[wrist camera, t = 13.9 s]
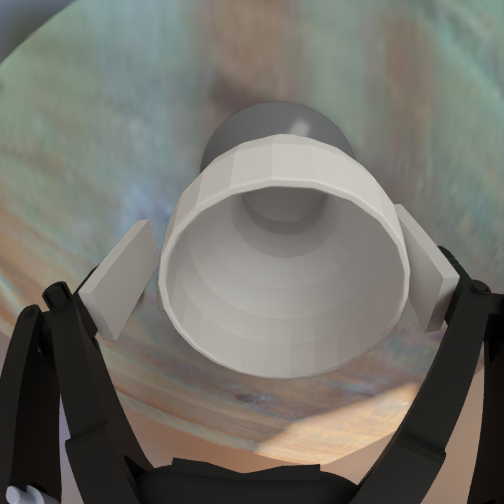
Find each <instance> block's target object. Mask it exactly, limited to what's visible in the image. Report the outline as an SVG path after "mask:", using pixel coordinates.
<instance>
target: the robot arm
mask: <svg viewBox="0 0 504 504" xmlns="http://www.w3.org/2000/svg"><path fill="white" fill-rule="evenodd" d="M393 205H394V208H395V211H396V214H397V217H398V220H399V223H400V227H401V230H402V233H403V238H404V242H405V247H406V252H407V256H408V262H409V267H410V276H409V291H408V297H409V299H410V301H411V303H412V306H413V308H414V310H415V312H416V314H417V316H418V318H419V320H420V323H421V325H422V327H423V329H424V332H425V333H426V332H432V331H438V330H440V329H441V327H442V324H443V322H444V319H445V321H446V323H447V325H448V328H447V330H446V332H445V334H444V337H443V339H442V341H441V343H440V347H439V349H438V352H437V354H436V356H435V359H434V361H433V363H432V365H431V367H430V369H429V372H428V374H427V376H426V378H425V380H424V382H423V384H422V386H421V388H420V390H419V392H418V394H417V396H416V397H415V399H414V401H413V403H412V405H411V407H410V408H409V410H408V412H407V414H406V415H405V417H404V419H403V421H402V422H401V424H400V426H399V427H398V429H397V430H396V432H395V434H394V435H393V437H392V439H391V440H390V442H389V443H388V445H387V446H386V448H385V449H384V451H383V452H382V454H381V455H380V457H379V458H378V459H377V461H376V462H375V463H374V465H373V466H372V467H371V469H370V470H369V471H368V473H367V474H366V475H365V476H364V478H363V479H362V480H361V481H360V483H359V484H358V485H356V484H354V483H353V482H351V481H350V480H348V479H346V478H344V477H341V476H339V475H336V474H333V473H329V472H323V471H320V464H314V465H296V466H280V467H275V468H271V469H266V470H261V471H256V472H251V473H238V472H235V471H232V470H229V469H226V468H223V467H219V466H216V465H213V464H210V463H208V462H201V461H193V460H186V459H180V458H173V461H172V465H167V466H161V467H158V468H154V467H153V466H152V464H151V463H150V462H149V461H148V459H147V458H146V456H145V455H144V453H143V451H142V449H141V447H140V445H139V443H138V441H137V439H136V437H135V435H134V433H133V431H132V428H131V426H130V424H129V422H128V420H127V418H126V415H125V413H124V411H123V408H122V406H121V404H120V401H119V399H118V396H117V394H116V391H115V389H114V386H113V384H112V381H111V379H110V376H109V373H108V370H107V368H106V365H105V362H104V359H103V356H102V353H101V350H100V347H99V344H98V341H97V340H96V338H95V335H96V333H97V331H99V333H100V335H101V337H102V338H103V340H111V341H117V339H118V337H119V335H120V333H121V332H122V330H123V328H124V326H125V324H126V322H127V320H128V318H129V316H130V315H131V313H132V311H133V309H134V307H135V305H136V303H137V302H138V300H139V298H140V296H141V294H142V293H143V291H144V289H145V287H146V285H147V284H148V282H149V280H150V278H151V277H152V275H153V273H154V271H155V270H156V268H157V266H158V265H159V263H160V256H159V252H158V249H157V246H156V242H155V239H154V235H153V232H152V228H151V224H150V221H149V219H147V220H138V221H137V222H136V223H135V224H134V225H133V226H132V227H131V228H130V230H129V231H128V232H127V233H126V234H125V235H124V236H123V238H122V239H121V240H120V241H119V242H118V243H117V245H116V246H115V247H114V248H113V249H112V250H111V252H110V253H109V254H108V255H107V256H106V258H105V259H104V260H103V261H102V262H101V264H99V265H98V266H97V267H95V268H94V269H93V270H92V271H91V272H90V273H89V275H88V276H87V277H86V278H85V280H84V281H83V282H82V283H81V285H80V286H79V287H78V288H77V290H76V291H75V292H74V294H73V295H72V294H71V292H70V290H69V288H68V286H67V284H66V282H63V281H60V282H56V283H54V284H52V285H50V286H49V287H48V288H46V289H45V291H44V292H43V295H42V297H43V299H44V301H45V303H46V304H47V306H48V308H49V310H50V311H46V312H42V311H41V310H40V308H39V306H38V305H36V304H34V305H30V306H27V307H26V308H24V309H23V311H22V312H21V313H20V315H19V317H18V319H17V322H16V325H15V328H14V331H13V334H12V337H11V341H10V344H9V347H8V351H7V354H6V358H5V361H4V365H3V369H2V373H1V377H0V504H61V495H62V494H61V493H62V485H61V470H60V451H59V407H60V393H61V398H62V403H63V407H64V412H65V416H66V420H67V424H68V428H69V432H70V436H71V438H70V439H68V440H66V441H65V448H66V453H67V456H68V460H69V463H70V466H71V469H72V472H73V475H74V478H75V481H76V484H77V487H78V489H79V492H80V494H81V497H82V500H83V502H84V504H420V503H421V502H422V500H423V499H424V497H425V495H426V493H427V492H428V490H429V489H430V487H431V485H432V483H433V482H434V480H435V478H436V476H437V474H438V472H439V471H440V469H441V467H442V465H443V463H444V460H445V457H446V452H445V447H446V445H447V443H448V441H449V438H450V436H451V434H452V432H453V430H454V427H455V425H456V422H457V420H458V418H459V415H460V413H461V410H462V407H463V405H464V402H465V399H466V396H467V394H468V390H469V388H470V385H471V382H472V378H473V375H474V372H475V369H476V365H477V362H478V358H479V354H480V350H481V346H482V342H483V341H484V399H483V401H484V402H483V414H482V424H481V432H480V440H479V446H478V453H477V458H476V464H475V469H474V473H473V478H472V482H471V486H470V491H469V496H468V500H467V504H504V294H496V293H491V290H490V288H489V287H488V286H487V285H486V284H485V283H483V282H481V281H478V280H472V279H471V278H470V277H469V275H468V274H467V273H466V271H465V270H464V269H463V267H462V266H461V265H460V264H459V262H458V261H457V260H456V259H455V257H454V256H453V255H452V254H451V252H450V251H448V250H447V249H445V248H444V247H442V246H436V245H435V243H434V242H433V241H432V240H431V239H430V237H429V236H428V235H427V234H426V233H425V231H424V230H423V229H422V228H421V227H420V226H419V224H418V223H417V222H416V221H415V220H414V219H413V217H412V216H411V215H410V214H409V213H408V212H407V211H406V210H405V209H404V207H403V206H402V205H401V204H393ZM38 350H39V351H38Z"/></svg>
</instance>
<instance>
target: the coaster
mask: <svg viewBox="0 0 504 504" xmlns="http://www.w3.org/2000/svg"><path fill="white" fill-rule="evenodd" d="M277 134H293V135H297V136H300V137H308V138H311V139H314V140H317V141H320V142H323V143H325V144H328V145H331V146H334V147H337V148H338V149H340V150H341V151H343V152H344V153H345V154H347V155H348V156H350V157H351V158H352V159H354V160H355V156H354V153H353V151H352V148H351V146H350V144H349V142H348V140H347V139H346V137H345V136H344V135H343V133H342V132H341V131H340V130H339V128H338V127H337V126H336V125H335V124H334V123H333V122H331V121H330V120H329V119H328V118H326V117H325V116H324V115H322V114H320V113H319V112H317V111H315V110H313V109H311V108H308V107H306V106H303V105H300V104H296V103H291V102H266V103H260V104H257V105H253V106H250V107H248V108H246V109H243V110H241V111H239V112H238V113H236V114H234V115H233V116H231V117H230V118H229V119H227V120H226V121H225V122H224V123H223V124H222V125H221V126H220V127H219V128H218V129H217V130H216V132H215V133H214V134H213V136H212V137H211V139H210V141H209V143H208V145H207V147H206V149H205V152H204V155H203V158H202V164H201V173H202V172H203V171H204V169H205V168H206V167H207V166H208V165H209V164H210V163H211V162H212V161H213V160H214V159H215V158H217V157H218V156H220V155H222V154H224V153H225V152H227V151H229V150H231V149H232V148H234V147H236V146H238V145H240V144H241V143H244V142H248V141H252V140H256V139H261V138H265V137H268V136H272V135H277ZM355 161H356V160H355Z"/></svg>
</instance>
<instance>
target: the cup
mask: <svg viewBox="0 0 504 504" xmlns="http://www.w3.org/2000/svg"><path fill="white" fill-rule="evenodd" d="M409 276H410V267H409V262H408V256H407V252H406V247H405V242H404V238H403V233H402V230H401V227H400V223H399V220H398V217H397V214H396V211H395V208H394V205H393V203H392V202H391V201H390V199H389V198H388V196H387V195H386V193H385V192H384V191H383V189H382V188H381V187H380V185H379V184H378V182H377V181H376V180H375V178H374V177H373V176H372V175H371V174H370V173H369V172H368V171H367V170H366V169H365V168H364V167H363V166H362V165H361V164H359V163H358V162H356V161H355V160H354V159H352V158H351V157H350V156H348V155H347V154H345V153H344V152H343V151H341V150H340V149H338V148H337V147H334V146H331V145H328V144H325V143H323V142H320V141H317V140H314V139H311V138H308V137H300V136H297V135H293V134H277V135H272V136H268V137H265V138H261V139H256V140H252V141H248V142H244V143H241V144H240V145H238V146H236V147H234V148H232V149H231V150H229V151H227V152H225V153H224V154H222V155H220V156H218V157H217V158H215V159H214V160H213V161H212V162H211V163H210V164H209V165H208V166H207V167H206V168H205V169H204V171H203V172H202V173H201V174H200V175H199V176H198V177H197V178H196V179H195V180H194V181H193V182H192V183H191V184H190V185H189V187H188V188H187V189H186V190H185V191H184V192H183V193H182V194H181V197H180V199H179V201H178V203H177V205H176V207H175V209H174V211H173V213H172V216H171V218H170V220H169V223H168V227H167V231H166V235H165V239H164V244H163V248H162V252H161V257H160V267H159V278H158V284H159V289H160V293H161V297H162V302H163V306H164V309H165V311H166V313H167V315H168V316H169V318H170V320H171V322H172V323H173V325H174V327H175V329H176V330H177V332H178V333H179V334H180V335H181V336H182V337H183V338H184V339H185V340H186V341H187V342H188V343H189V344H190V345H191V346H192V347H193V348H194V349H195V350H197V351H198V352H200V353H201V354H203V355H204V356H206V357H207V358H209V359H210V360H212V361H213V362H215V363H217V364H219V365H221V366H224V367H226V368H229V369H231V370H233V371H236V372H238V373H242V374H246V375H251V376H255V377H260V378H266V379H284V380H292V379H301V378H309V377H316V376H320V375H323V374H327V373H330V372H333V371H336V370H340V369H342V368H344V367H346V366H348V365H350V364H352V363H354V362H356V361H357V360H359V359H361V358H363V357H364V356H366V355H367V354H368V353H369V352H371V351H372V350H373V349H374V348H375V347H377V346H378V345H379V344H380V343H381V342H383V341H384V339H385V338H386V337H387V335H388V334H389V333H390V331H391V330H392V329H393V327H394V326H395V325H396V323H397V322H398V320H399V318H400V315H401V313H402V310H403V308H404V305H405V303H406V300H407V298H408V291H409Z"/></svg>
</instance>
